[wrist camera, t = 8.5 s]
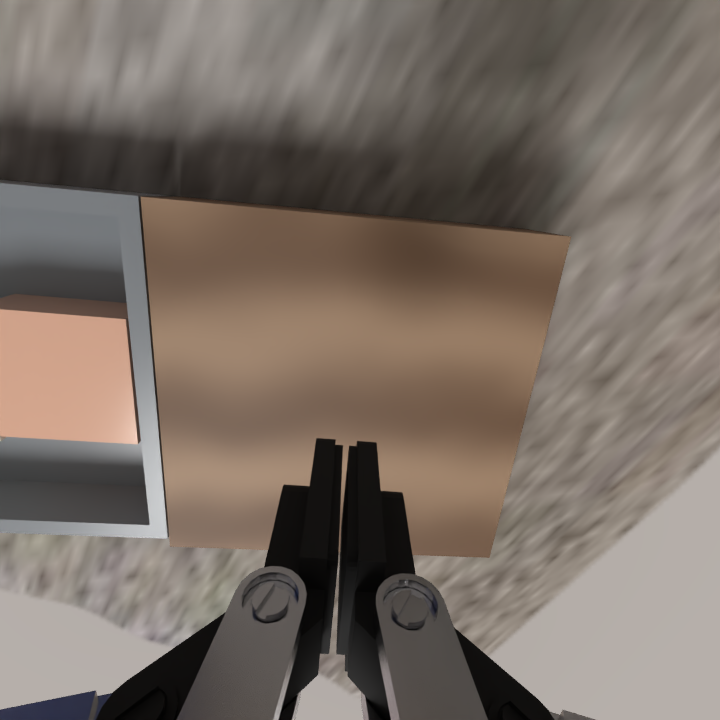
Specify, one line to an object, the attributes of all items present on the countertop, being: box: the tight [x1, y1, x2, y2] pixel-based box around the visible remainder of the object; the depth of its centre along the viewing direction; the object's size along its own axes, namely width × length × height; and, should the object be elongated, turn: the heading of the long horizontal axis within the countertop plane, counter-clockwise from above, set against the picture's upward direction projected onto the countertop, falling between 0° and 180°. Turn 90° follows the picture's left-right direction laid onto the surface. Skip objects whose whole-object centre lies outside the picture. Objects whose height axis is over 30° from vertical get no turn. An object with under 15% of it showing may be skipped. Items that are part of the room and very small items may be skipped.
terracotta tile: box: [0, 294, 141, 444], centre depth 20 cm, size 6×6×2 cm
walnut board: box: [141, 197, 571, 558], centre depth 21 cm, size 16×16×4 cm
